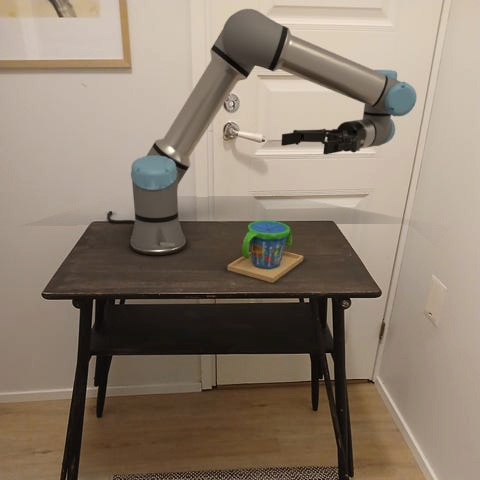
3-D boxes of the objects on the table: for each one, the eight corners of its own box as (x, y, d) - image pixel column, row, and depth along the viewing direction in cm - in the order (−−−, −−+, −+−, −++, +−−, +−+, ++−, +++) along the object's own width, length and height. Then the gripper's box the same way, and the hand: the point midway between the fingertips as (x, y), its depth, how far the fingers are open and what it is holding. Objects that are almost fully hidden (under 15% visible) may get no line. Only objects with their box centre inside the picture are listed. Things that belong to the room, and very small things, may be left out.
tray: (227, 270, 124) (227, 265, 123) (260, 249, 137) (261, 245, 136) (272, 282, 118) (273, 278, 117) (303, 260, 131) (303, 255, 130)
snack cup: (277, 251, 135) (280, 216, 130) (302, 264, 127) (305, 227, 122) (230, 262, 127) (231, 225, 122) (253, 277, 120) (255, 238, 115)
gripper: (392, 157, 126) (342, 168, 113) (316, 143, 142) (266, 151, 129) (397, 126, 122) (346, 134, 110) (319, 115, 138) (267, 121, 125)
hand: (303, 144), depth 119 cm, fingers open, 13 cm apart
